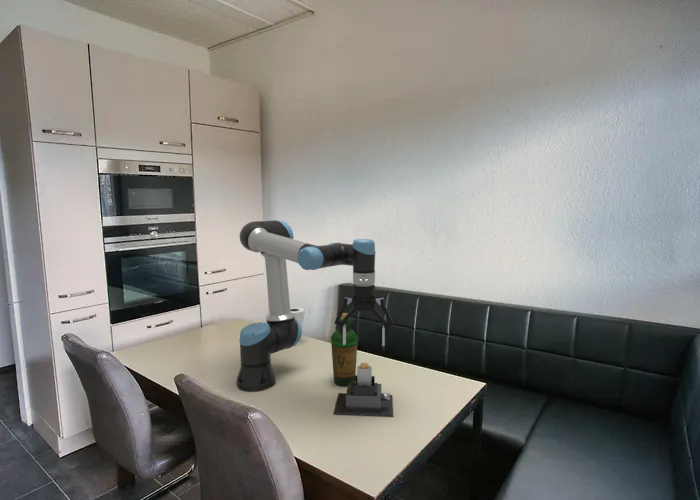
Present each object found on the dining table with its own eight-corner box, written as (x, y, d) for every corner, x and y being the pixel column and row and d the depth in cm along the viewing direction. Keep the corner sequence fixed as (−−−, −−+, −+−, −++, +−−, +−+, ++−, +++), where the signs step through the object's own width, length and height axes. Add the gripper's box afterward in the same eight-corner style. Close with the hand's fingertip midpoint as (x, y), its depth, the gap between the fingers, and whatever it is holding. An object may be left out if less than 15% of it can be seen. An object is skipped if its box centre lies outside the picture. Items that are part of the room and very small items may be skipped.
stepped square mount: (333, 414, 139) (333, 389, 138) (338, 395, 153) (338, 372, 152) (392, 416, 137) (393, 391, 136) (392, 397, 151) (392, 374, 150)
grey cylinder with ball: (356, 392, 142) (356, 366, 141) (357, 386, 147) (358, 361, 146) (370, 393, 141) (371, 367, 141) (371, 387, 146) (372, 362, 145)
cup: (304, 348, 205) (303, 312, 203) (282, 348, 205) (281, 312, 203) (306, 341, 215) (306, 307, 213) (286, 341, 215) (285, 307, 213)
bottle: (338, 390, 157) (337, 319, 154) (326, 379, 167) (326, 312, 164) (362, 384, 162) (362, 315, 159) (350, 374, 172) (349, 309, 169)
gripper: (326, 285, 138) (326, 346, 140) (400, 286, 135) (400, 349, 138) (329, 281, 145) (329, 339, 147) (400, 282, 143) (399, 341, 145)
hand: (363, 344), depth 143 cm, fingers open, 13 cm apart
